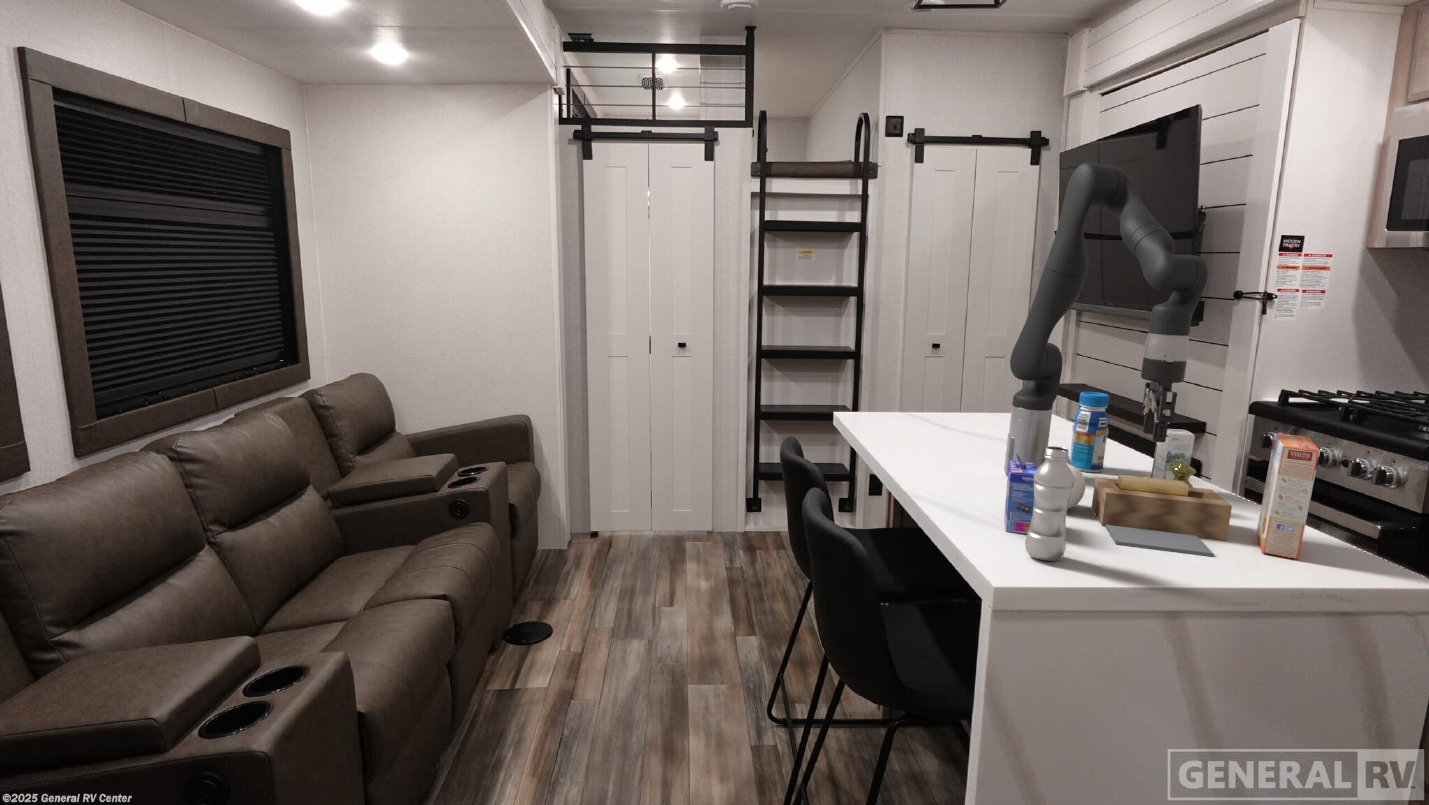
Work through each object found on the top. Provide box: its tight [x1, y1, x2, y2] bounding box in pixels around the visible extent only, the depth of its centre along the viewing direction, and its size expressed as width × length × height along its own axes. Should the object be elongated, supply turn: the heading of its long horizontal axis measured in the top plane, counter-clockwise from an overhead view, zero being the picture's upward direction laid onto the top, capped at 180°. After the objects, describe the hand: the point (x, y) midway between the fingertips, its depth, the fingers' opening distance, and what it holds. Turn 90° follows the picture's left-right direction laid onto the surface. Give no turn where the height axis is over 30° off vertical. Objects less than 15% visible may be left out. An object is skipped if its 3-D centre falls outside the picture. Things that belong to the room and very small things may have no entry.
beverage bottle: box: [1069, 391, 1110, 473], centre depth 197 cm, size 8×8×20 cm
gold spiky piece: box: [1169, 464, 1197, 487], centre depth 166 cm, size 7×7×10 cm
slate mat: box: [1105, 525, 1214, 557], centre depth 145 cm, size 16×10×1 cm, turn 73°
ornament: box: [1066, 455, 1086, 510], centre depth 163 cm, size 10×10×12 cm
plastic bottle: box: [1024, 445, 1074, 562], centre depth 133 cm, size 6×7×20 cm
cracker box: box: [1256, 433, 1321, 560], centre depth 143 cm, size 14×6×21 cm, turn 148°
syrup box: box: [1150, 428, 1196, 480], centre depth 180 cm, size 6×6×14 cm
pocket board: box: [1090, 476, 1233, 541], centre depth 156 cm, size 22×12×7 cm, turn 73°
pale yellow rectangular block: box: [1117, 474, 1189, 497], centre depth 155 cm, size 12×4×6 cm, turn 73°
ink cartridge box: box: [1004, 453, 1037, 535], centre depth 150 cm, size 10×6×14 cm, turn 161°
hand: (1153, 437), depth 154 cm, fingers open, 7 cm apart
